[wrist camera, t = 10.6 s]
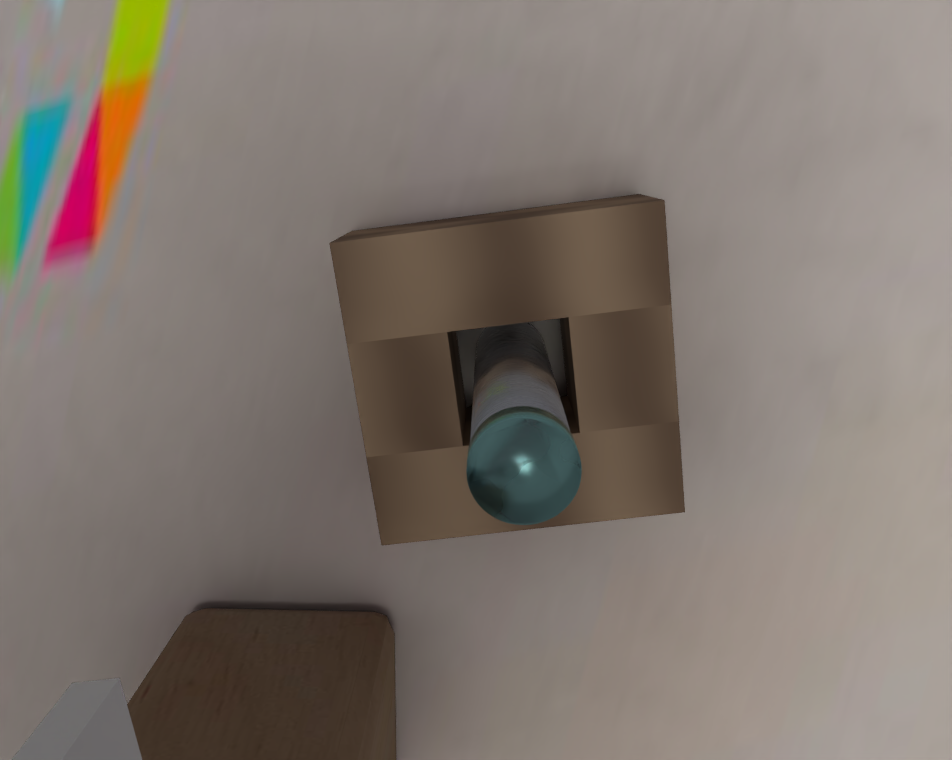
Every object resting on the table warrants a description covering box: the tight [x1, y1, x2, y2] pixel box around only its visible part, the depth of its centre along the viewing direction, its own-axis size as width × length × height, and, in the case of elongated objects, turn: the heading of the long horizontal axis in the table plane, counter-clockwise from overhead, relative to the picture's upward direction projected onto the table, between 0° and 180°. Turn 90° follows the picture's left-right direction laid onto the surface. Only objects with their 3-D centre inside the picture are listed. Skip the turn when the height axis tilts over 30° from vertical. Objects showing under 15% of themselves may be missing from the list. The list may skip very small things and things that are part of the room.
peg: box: [466, 322, 582, 525], centre depth 29 cm, size 3×3×14 cm
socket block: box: [330, 194, 685, 545], centre depth 33 cm, size 12×12×5 cm
